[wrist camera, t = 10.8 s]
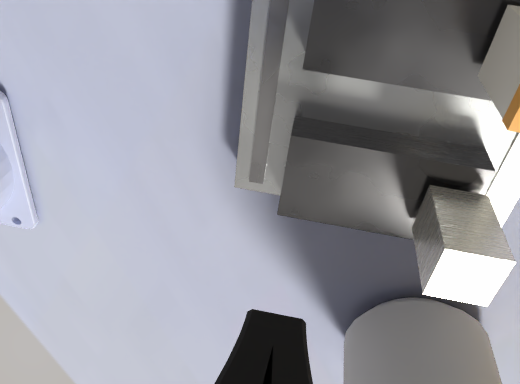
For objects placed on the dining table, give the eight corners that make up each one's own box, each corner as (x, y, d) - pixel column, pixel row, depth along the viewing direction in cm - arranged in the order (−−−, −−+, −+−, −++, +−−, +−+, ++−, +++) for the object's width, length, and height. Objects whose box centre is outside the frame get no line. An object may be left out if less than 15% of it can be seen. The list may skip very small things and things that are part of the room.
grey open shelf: (241, 167, 21) (205, 273, 15) (297, -386, 11) (251, -600, 6) (488, 212, 20) (536, 338, 15) (783, -333, 10) (1230, -522, 5)
